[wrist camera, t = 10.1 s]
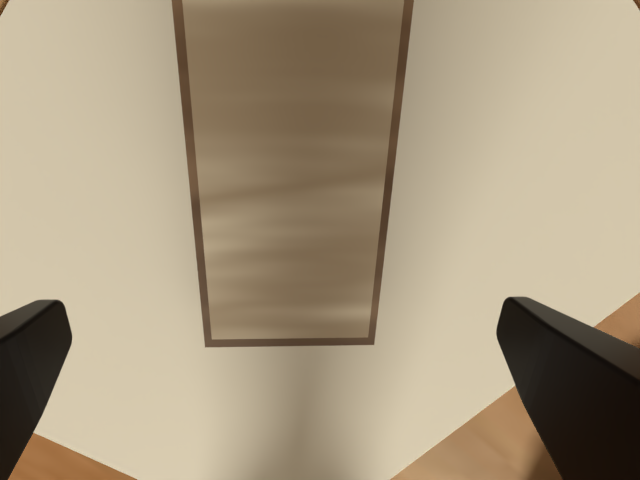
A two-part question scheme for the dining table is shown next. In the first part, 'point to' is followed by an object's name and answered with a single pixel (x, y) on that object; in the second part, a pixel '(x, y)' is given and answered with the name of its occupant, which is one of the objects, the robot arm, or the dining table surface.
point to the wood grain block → (291, 162)
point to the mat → (400, 252)
